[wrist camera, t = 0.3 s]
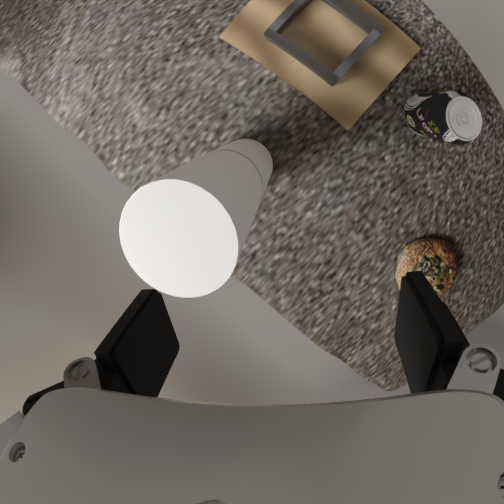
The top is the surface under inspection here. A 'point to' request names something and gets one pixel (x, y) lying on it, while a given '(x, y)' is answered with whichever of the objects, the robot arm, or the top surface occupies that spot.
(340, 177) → the top surface
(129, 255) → the cylindrical container
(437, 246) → the bread roll
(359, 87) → the board
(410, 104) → the beverage can
